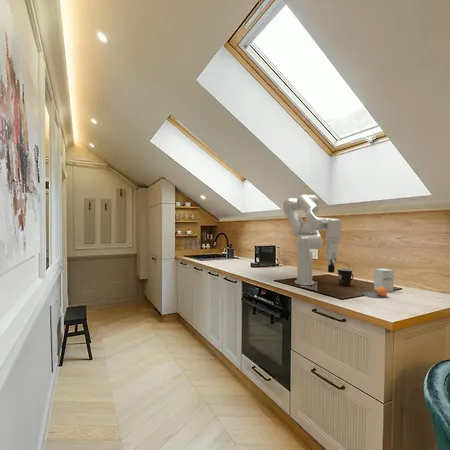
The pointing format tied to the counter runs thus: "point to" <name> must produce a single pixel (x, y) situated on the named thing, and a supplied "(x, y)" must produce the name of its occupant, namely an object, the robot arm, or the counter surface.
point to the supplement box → (384, 279)
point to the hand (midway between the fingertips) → (331, 272)
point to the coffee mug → (345, 277)
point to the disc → (373, 295)
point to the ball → (381, 291)
